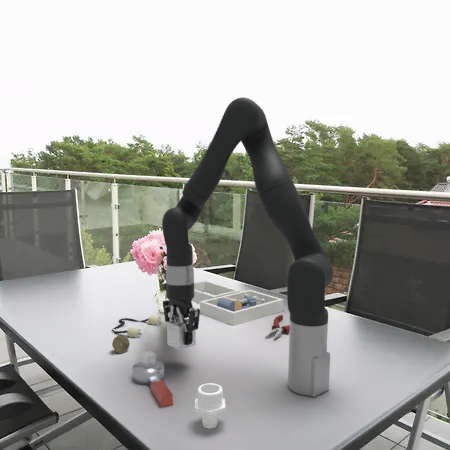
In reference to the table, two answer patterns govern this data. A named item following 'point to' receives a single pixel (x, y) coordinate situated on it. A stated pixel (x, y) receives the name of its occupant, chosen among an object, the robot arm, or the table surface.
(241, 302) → the vise
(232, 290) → the grey tray
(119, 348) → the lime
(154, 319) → the cable
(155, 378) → the ratchet
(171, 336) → the pale grey cube
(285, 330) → the pliers
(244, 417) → the table surface
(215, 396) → the pipe fitting
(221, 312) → the white tray
